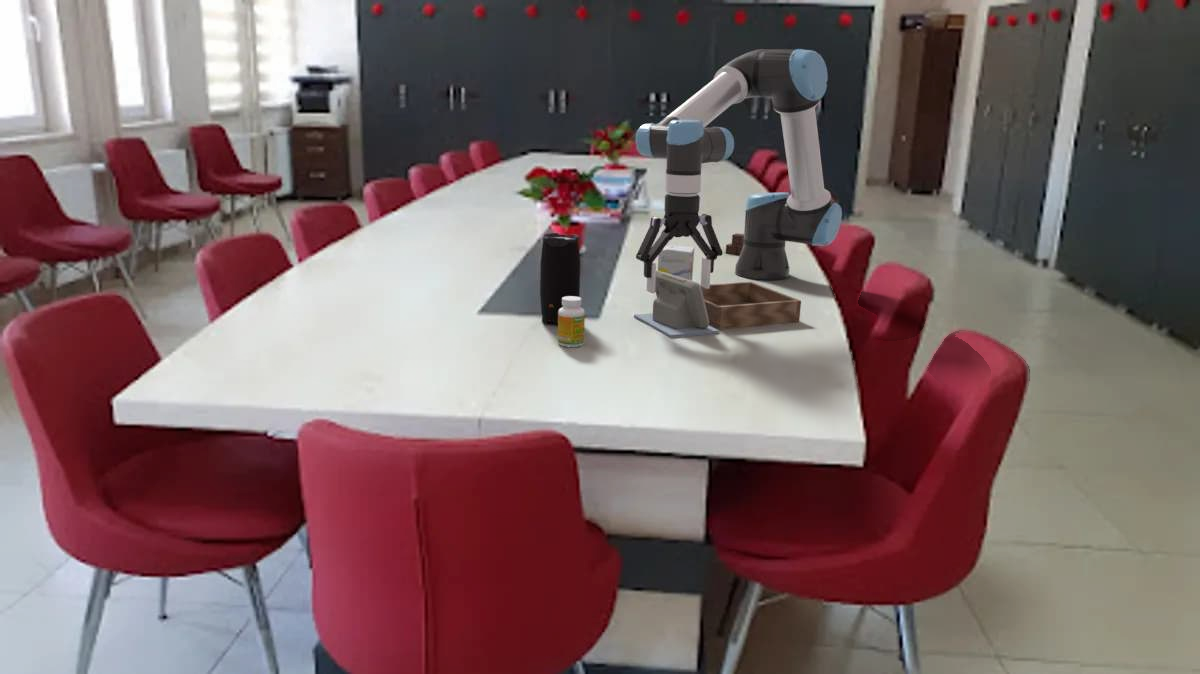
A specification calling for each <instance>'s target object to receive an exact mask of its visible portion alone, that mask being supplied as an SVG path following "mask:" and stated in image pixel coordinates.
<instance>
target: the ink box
mask: <svg viewBox="0 0 1200 674" xmlns="http://www.w3.org/2000/svg"><path fill="white" fill-rule="evenodd" d="M694 259H695V247H694V246H682V245H674V244H669V245H668V244H666V246H665V247H664V248H663V250H662V251H661V252H660V254H659V255H658V256H657V271H661V272H665V273H668V274H671V275H675V276H678V277H681V278H684V279H687V280H691V281H693V273H694Z"/></svg>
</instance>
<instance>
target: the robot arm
mask: <svg viewBox="0 0 1200 674" xmlns="http://www.w3.org/2000/svg"><path fill="white" fill-rule="evenodd" d="M828 77H829V76H828V68H827V65H826V62H825V60H824V59H823V57H822V54H820V53H818V52H817V51H815V50H812V49H803V48H797V49H771V48H770V49H765V48H761V49H755V50H751V51H749V52H746V53H744V54H742V55H740V56H737V57H735V58H734V59H732V60H730V61H729V62H727V63H726V64H725V65H723V66H722V67H721V68H720V69H718V70H717V71H716V72H715V74H714V76H713V79H712V80H711V81H710V82H708V83H707V84H706V85H704V86H703V87H702V88H701V89H700V90H698V91H697V92H696V93H695V94H693V95H692V96H690V98H688V99H687V100H685V102H684V103H682V104H681V105H679V106H678V107H677V108H676V109H674V110H673V111H672V112H671V113H669V115H667V116H666V117H664V118H663V119H662V120H661V121H660V122H658V123H654V122H651V123H644V124H642V125H641V126H640V127H638V129H637V132H636V134H635V146H636V150H637V152H638V153H639V154H640V155H642V156H644V157H648V158H649V157H650V158H653V159H656V158H657V159H666V169H665V186H664V187H665V192H666V194H665V195H664V216H663V217H656V216H652V217H650V222H649V227H648V230H647V232H646V234H645V236H644V239H643V240H642V242H641V244H640V247H639V249H638V251H637V253H636V254H635V258H636V260H638V261H640V262H643V276H644V278H646V292H648V293H651V294H656V292H655V282H656V271H657V263H655V262H654V261H655V260H656V259H657V258H658V255H659V254H660V252H661V251H662V250H663V248H664V247H665V246H666V245H668V243H669V242H670V241H672V240H673V239H674V237H675V238H682V237H683V238H684V237H685V238H689V237H691V239H692V240H693V241H694V242H695V244H696V245H697V247H698V248H699V249H700V251H701V252H702V254H704V256H705V257H702V258H701V272H700V274H701V275H700V285H701V286H702V287H704V288H706V289H709V288H710V284H711V274H713V273H714V266H715V261H716V260H717V259H718V257H719V256H721V257H722V255H723V250H722V247H721V245H720V242H719V239H718V236H717V234H716V232H715V229H714V227H713V221H712V220H713V219H712V216H711V215H709V214H707V213H702V214H701V215H699V211H700V206H701V205H700V204H701V203H700V201H701V197H700V195H699V194H700V192H701V186H702V185H701V183H702V182H701V179H702V164H707V163H708V164H709V163H719V162H721V161H725V160H726V159H728V158H729V157H730V156H731V155H732V154H733V152H734V149H735V141H734V140H735V139H734V135H733V134H732V133H731V131H730V130H729V129H727V128H725V127H721V126H720V127H719V126H712V127H707V126H708V125H710V123H712V121H714V120H715V119H716V118H717V117H719V116H720V115H721V114H722V113H723V112H725V111H726V110H727V109H728V108H729V107H731V106H732V105H735V104H739V103H741V102H743V101H744V100H745V99H750V98H752V99H753V98H764V99H765V98H766V99H771V102H772V107H773V110H774V111H775V112H776V113H778V114H780V121H781V128H782V135H783V136H782V137H783V142H784V150H785V157H786V164H787V171H788V179H789V180H788V181H789V187H790V193H789V192H785V191H784V192H782V191H781V192H780V191H779V192H764V193H755V194H750V196H749V195H748V198H747V200H746V204H745V205H746V206H745V211H744V213H745V214H744V215H745V217H744V228H743V230H744V232H743V234H744V244H743V249H742V251H741V254H740V255H738V259H737V261H736V264H735V269H734V270H735V272H734V273H735V275H736V276H739V277H743V278H746V279H753V280H763V281H764V280H768V281H769V280H771V281H773V280H774V281H775V280H785V279H787V278H789V276H790V264H789V262H788V261H789V260H788V256H787V251H786V242H789V243H791V242H792V243H797V244H804V245H812V246H813V247H816V246H819V247H821V246H822V247H827V246H829V245H830V244H831V243H832V242H833V241H834V240H835V239H836V237H837V235H838V233H839V230H840V227H841V223H842V217H843V210H842V206H841V205H840V204H838V203H836V202H832V194H831V192H830V191H829V190H827V189H826V188H825V183H824V175H823V165H822V159H821V149H820V148H821V146H820V140H819V132H818V123H817V115H816V114H817V113H816V107H817V106H818V105H819V104H820V102H821V99H822V98H823V96H824V95H825V94H826V90H827V88H828V84H827V82H828V80H829V79H828ZM699 224H700V225H702V226H701V227H702V229H703V232H704V235H705V236H706V240H707V242H708V243H707V242H706V241H705V239H704V238H703V236H702V235H701V233H700V231H699V230H698V228H697V227H698V225H699ZM663 225H664V229H663V230H662V231H661V232H660V228H662V227H663ZM659 232H660V235H659V237H658V238H657V236H658V234H659ZM656 238H657V239H656ZM708 244H709V245H708Z"/></svg>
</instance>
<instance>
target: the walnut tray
mask: <svg viewBox="0 0 1200 674" xmlns="http://www.w3.org/2000/svg"><path fill="white" fill-rule="evenodd" d="M700 286H701V284H700ZM701 289H702V293H703V297H704V301H705V306H706V310H707V314H708V318H709V326H711V327H713V328H715V329H717V330H724V329H727V330H728V329H736V328H746V327H755V326H756V327H757V326H768V325H770V326H771V325H778V324H779V325H780V324H790V323H791V324H792V323H799V322H800V319H801V318H800V317H801V316H800V315H801V306H802V300H800V299H798V298H795V297H793V296H790V295H787V294H786V293H782V292H779V291H777V290H774V289H772V288H770V287H767V286H765V285H761V284H759V283H756V282H755V281H754V282H753V281H742V282H741V281H740V282H730V283H729V282H728V283H727V282H725V283H714V284H713V283H712V284H711V283H710V288H709V289H706V288H704V287H702V286H701Z"/></svg>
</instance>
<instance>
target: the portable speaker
mask: <svg viewBox="0 0 1200 674" xmlns="http://www.w3.org/2000/svg"><path fill="white" fill-rule="evenodd" d="M579 241H580V237H579V235H578V234H576V233H571V234H563V233H562V234H561V233H560V234H559V233H558V232H548V233H545V234H544V235H543V237H542V245H541V254H540V263H539V264H540V273H539V274H540V276H539V277H540V279H539V281H540V282H539V297H540V308H541V309H540V311H541V322H542V323H543V324H544V323H547V324H548V322H551V323H556V324H558V311H559V309H560V308H562V307H563V305H562V298H563V297H566V296H576V297H581V295H580V293H581V292H580V291H581V288H580V287H581V284H580V283H581V256H580V245H579V244H580V243H579Z"/></svg>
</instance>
